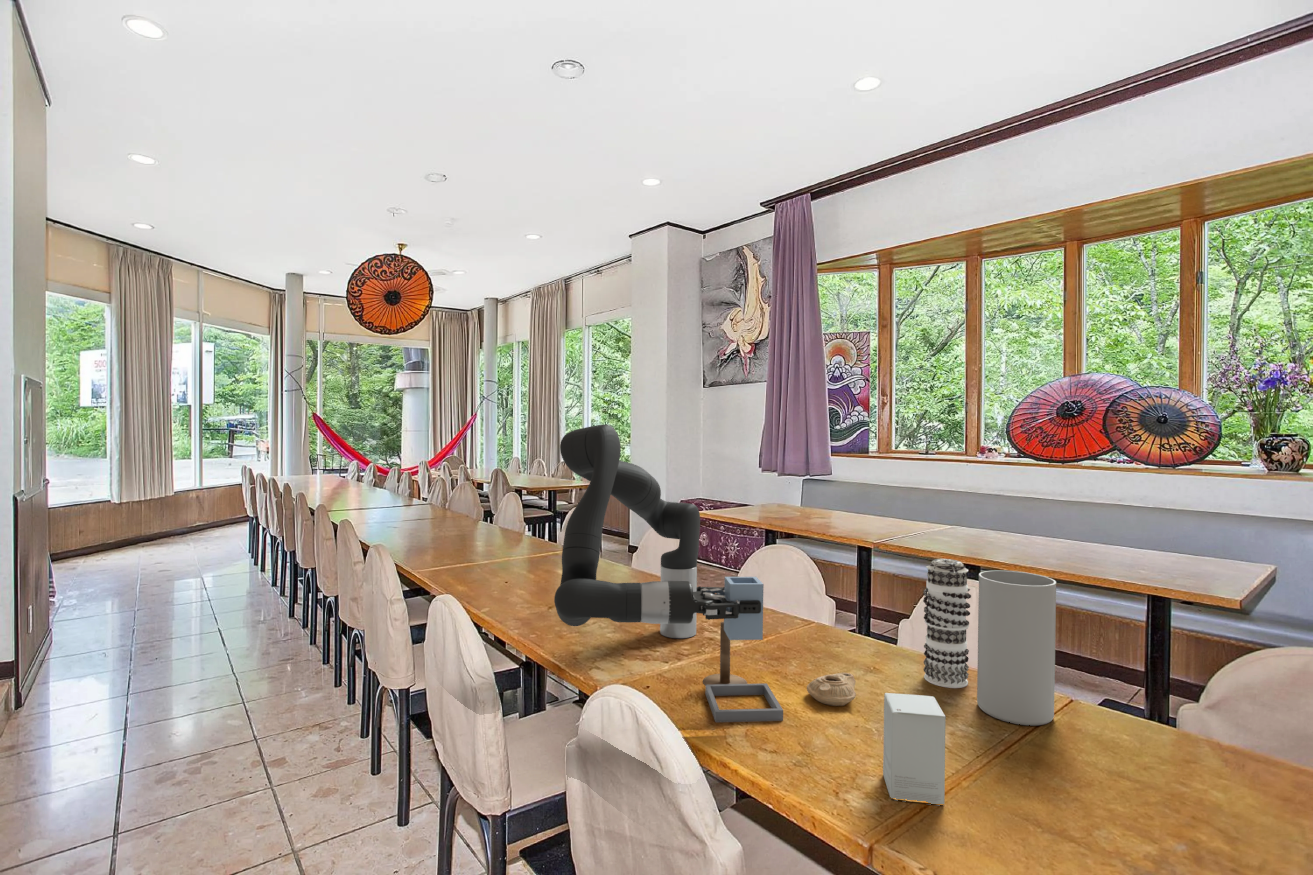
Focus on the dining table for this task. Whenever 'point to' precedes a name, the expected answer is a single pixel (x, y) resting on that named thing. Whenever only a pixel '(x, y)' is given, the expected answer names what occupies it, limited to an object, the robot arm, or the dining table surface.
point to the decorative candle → (946, 624)
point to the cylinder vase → (1016, 646)
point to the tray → (743, 714)
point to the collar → (745, 623)
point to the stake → (724, 664)
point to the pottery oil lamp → (833, 689)
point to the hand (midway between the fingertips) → (756, 601)
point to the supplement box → (914, 748)
